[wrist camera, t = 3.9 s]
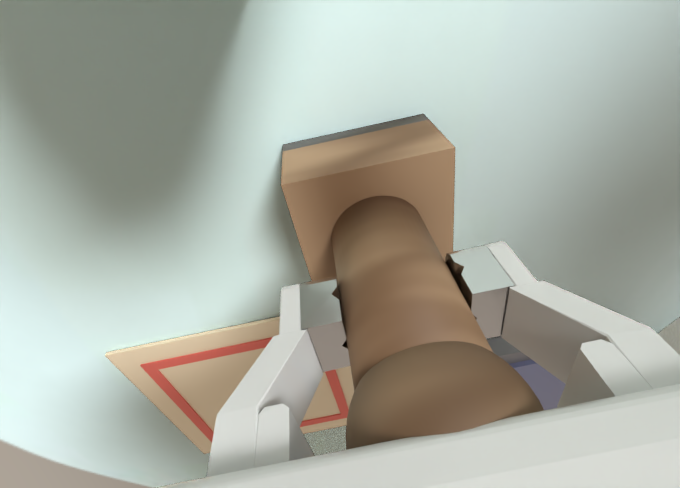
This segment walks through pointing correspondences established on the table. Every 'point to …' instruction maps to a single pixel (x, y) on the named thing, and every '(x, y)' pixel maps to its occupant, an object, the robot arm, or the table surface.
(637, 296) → the table surface
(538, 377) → the ink pad
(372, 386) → the walnut stamp
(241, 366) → the tan card
